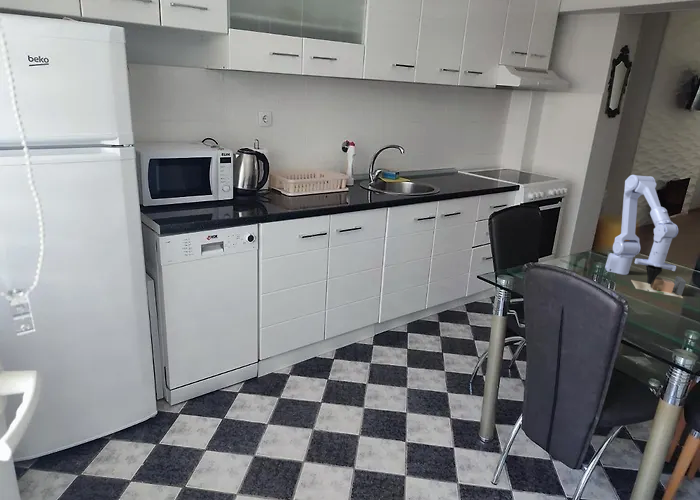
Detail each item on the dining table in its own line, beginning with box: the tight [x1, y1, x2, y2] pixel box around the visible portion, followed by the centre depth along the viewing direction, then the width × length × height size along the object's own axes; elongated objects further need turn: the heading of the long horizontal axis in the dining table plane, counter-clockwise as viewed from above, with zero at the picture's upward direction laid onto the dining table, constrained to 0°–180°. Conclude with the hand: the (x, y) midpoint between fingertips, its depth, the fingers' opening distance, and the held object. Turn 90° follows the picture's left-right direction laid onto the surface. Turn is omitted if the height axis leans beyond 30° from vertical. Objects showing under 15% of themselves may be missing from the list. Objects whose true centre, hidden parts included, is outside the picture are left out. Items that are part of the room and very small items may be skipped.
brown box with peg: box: [650, 276, 664, 291], centre depth 200 cm, size 3×6×4 cm, turn 161°
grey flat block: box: [673, 275, 687, 297], centre depth 199 cm, size 2×6×7 cm, turn 161°
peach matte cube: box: [661, 278, 675, 293], centre depth 200 cm, size 4×4×4 cm
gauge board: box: [630, 279, 684, 299], centre depth 202 cm, size 17×11×1 cm, turn 71°
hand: (649, 283), depth 202 cm, fingers closed
